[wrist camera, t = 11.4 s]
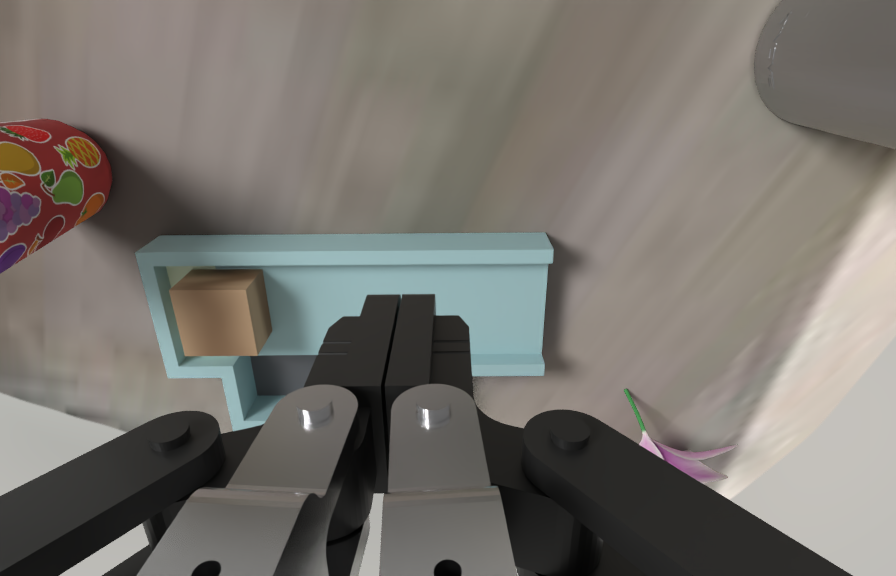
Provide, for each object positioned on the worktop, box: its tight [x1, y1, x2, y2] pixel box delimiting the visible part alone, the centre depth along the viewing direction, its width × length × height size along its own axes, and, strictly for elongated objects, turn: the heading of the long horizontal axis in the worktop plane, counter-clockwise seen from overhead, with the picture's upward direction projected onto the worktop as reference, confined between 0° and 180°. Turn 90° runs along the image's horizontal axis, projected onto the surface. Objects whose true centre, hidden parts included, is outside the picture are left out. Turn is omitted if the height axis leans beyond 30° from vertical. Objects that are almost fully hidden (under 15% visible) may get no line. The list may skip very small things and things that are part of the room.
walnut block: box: [169, 269, 272, 356], centre depth 38 cm, size 5×5×4 cm
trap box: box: [135, 233, 554, 431], centre depth 41 cm, size 28×15×4 cm, turn 90°
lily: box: [624, 389, 738, 483], centre depth 43 cm, size 12×12×10 cm
